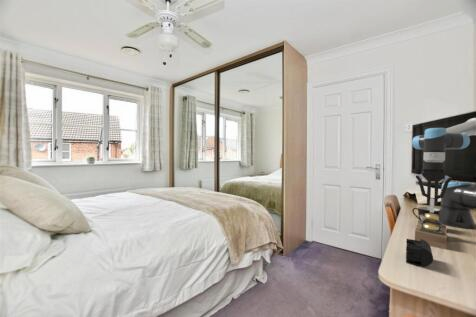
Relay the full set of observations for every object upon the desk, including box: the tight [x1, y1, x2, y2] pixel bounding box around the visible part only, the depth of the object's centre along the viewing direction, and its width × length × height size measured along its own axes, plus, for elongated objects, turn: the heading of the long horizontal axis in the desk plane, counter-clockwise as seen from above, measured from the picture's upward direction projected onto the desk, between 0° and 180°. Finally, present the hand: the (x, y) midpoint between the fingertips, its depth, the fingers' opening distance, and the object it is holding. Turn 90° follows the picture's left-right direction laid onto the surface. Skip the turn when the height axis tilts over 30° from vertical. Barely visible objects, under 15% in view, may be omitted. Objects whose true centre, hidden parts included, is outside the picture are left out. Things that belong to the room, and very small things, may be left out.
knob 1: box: [425, 213, 439, 222], centre depth 104 cm, size 5×5×2 cm
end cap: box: [405, 238, 434, 268], centre depth 80 cm, size 10×7×7 cm
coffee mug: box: [412, 206, 440, 222], centre depth 117 cm, size 12×9×10 cm
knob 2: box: [423, 224, 439, 232], centre depth 96 cm, size 5×5×2 cm
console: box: [414, 219, 448, 250], centre depth 100 cm, size 20×10×6 cm, turn 138°
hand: (431, 211), depth 104 cm, fingers closed
